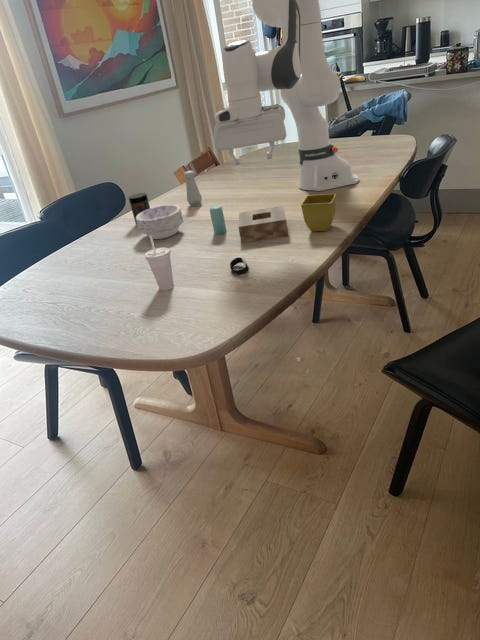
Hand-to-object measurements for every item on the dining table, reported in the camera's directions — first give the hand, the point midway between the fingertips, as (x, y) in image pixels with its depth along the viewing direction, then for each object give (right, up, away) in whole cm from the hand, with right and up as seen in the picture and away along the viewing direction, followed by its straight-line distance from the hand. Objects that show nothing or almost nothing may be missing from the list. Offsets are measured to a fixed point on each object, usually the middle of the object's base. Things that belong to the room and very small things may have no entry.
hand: (253, 161), depth 135 cm
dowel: (-10, -17, +17) cm, 26 cm away
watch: (-4, -33, -12) cm, 35 cm away
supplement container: (-39, -9, +41) cm, 57 cm away
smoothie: (-23, -37, -14) cm, 46 cm away
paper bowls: (-30, -17, +25) cm, 42 cm away
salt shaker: (-21, 0, +51) cm, 55 cm away
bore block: (+3, -18, +10) cm, 21 cm away
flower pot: (+20, -19, +4) cm, 28 cm away
